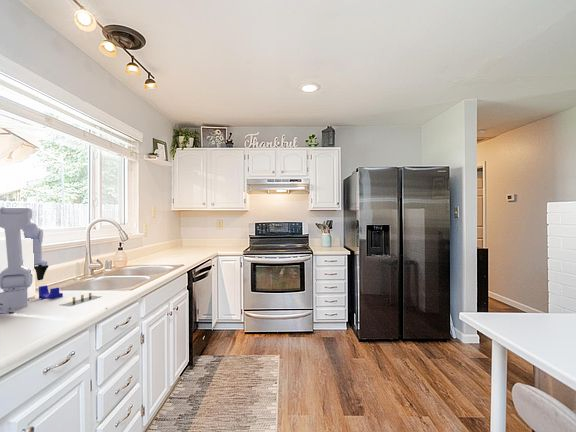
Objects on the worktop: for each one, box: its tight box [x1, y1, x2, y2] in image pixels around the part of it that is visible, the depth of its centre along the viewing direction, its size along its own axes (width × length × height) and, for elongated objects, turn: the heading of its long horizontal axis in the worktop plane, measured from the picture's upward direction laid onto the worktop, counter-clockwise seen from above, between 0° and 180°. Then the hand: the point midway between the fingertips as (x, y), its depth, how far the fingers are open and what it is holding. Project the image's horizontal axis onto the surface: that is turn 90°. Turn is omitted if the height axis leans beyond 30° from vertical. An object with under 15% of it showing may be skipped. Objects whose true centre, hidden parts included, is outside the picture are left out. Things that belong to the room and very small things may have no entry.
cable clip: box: [38, 284, 64, 300], centre depth 148 cm, size 12×4×6 cm, turn 63°
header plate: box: [59, 295, 102, 307], centre depth 140 cm, size 16×7×1 cm, turn 164°
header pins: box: [72, 292, 92, 303], centre depth 140 cm, size 9×1×3 cm, turn 164°
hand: (34, 279), depth 152 cm, fingers open, 7 cm apart
